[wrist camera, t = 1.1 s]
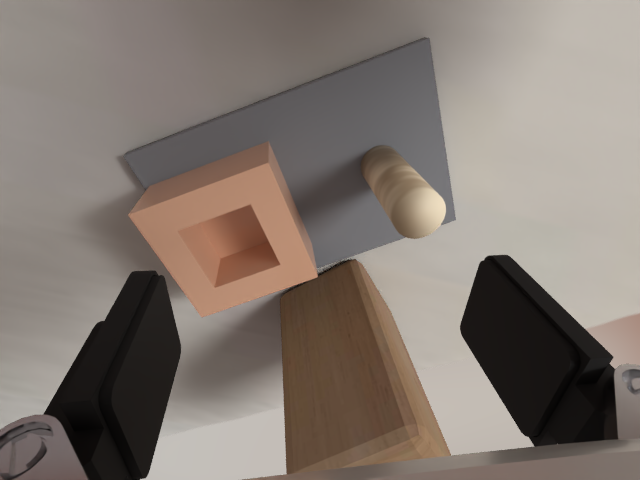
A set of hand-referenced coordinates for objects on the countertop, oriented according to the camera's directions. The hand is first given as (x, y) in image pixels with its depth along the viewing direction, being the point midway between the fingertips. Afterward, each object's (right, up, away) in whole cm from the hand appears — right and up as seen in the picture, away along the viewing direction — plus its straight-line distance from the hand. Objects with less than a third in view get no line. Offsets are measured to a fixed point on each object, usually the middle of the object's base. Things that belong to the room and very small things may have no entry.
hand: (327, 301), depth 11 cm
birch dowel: (+5, +9, +22) cm, 24 cm away
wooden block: (+2, -5, +31) cm, 31 cm away
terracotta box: (-8, +4, +23) cm, 24 cm away
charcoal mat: (-1, +7, +23) cm, 24 cm away
